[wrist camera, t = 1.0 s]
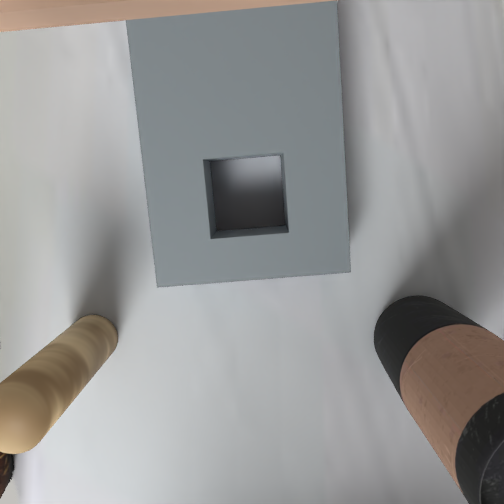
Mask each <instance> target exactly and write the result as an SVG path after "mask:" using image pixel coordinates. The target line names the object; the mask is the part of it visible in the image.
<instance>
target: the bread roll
mask: <svg viewBox="0 0 504 504" xmlns="http://www.w3.org/2000/svg"><path fill="white" fill-rule="evenodd" d="M12 457H13V456H12V454H8V453H3V452H0V498H1V496H2V494H3V493H4V491H5V488H6V487H7V485H8V483H9V482H10V479H11V480H12V471H13V470H14V465H13V464H14V463H13V458H12Z"/></svg>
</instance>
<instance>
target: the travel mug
mask: <svg viewBox="0 0 504 504" xmlns="http://www.w3.org/2000/svg"><path fill="white" fill-rule="evenodd" d="M374 345H375V349H376V352H377V355H378V357H379V359H380V361H381V363H382V365H383V366H384V368H385V370H386V372H387V374H388V375H389V377H390V379H391V381H392V383H393V384H394V386H395V388H396V390H397V392H398V393H399V395H400V397H401V399H402V401H403V402H404V404H405V406H406V408H407V409H408V411H409V412H410V414H411V415H412V417H413V418H414V420H415V421H416V423H417V424H418V426H419V427H420V429H421V431H422V432H423V434H424V435H425V437H426V438H427V440H428V441H429V443H430V444H431V446H432V447H433V449H434V450H435V452H436V453H437V455H438V456H439V458H440V460H441V461H442V463H443V464H444V466H445V467H446V469H447V470H448V472H449V473H450V475H451V476H452V478H453V479H454V481H455V482H456V484H457V485H458V487H459V488H460V490H461V492H462V493H463V495H464V496H465V498H466V499H467V501H468V502H469V504H504V341H503V340H502V339H501V338H499V337H498V336H496V335H495V334H493V333H492V332H490V331H489V330H487V329H485V328H484V327H482V326H480V325H479V324H477V323H475V322H474V321H472V320H470V319H469V318H467V317H465V316H464V315H462V314H461V313H459V312H457V311H456V310H454V309H452V308H451V307H449V306H447V305H446V304H444V303H442V302H440V301H438V300H436V299H433V298H430V297H426V296H411V297H406V298H403V299H400V300H398V301H396V302H395V303H393V304H391V305H390V306H389V307H388V308H387V309H386V310H385V311H384V312H383V313H382V315H381V316H380V318H379V320H378V321H377V324H376V327H375V331H374Z"/></svg>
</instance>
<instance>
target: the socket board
mask: <svg viewBox="0 0 504 504" xmlns="http://www.w3.org/2000/svg"><path fill="white" fill-rule="evenodd" d="M126 26H127V35H128V43H129V52H130V60H131V69H132V77H133V86H134V94H135V103H136V111H137V120H138V128H139V137H140V145H141V154H142V163H143V171H144V180H145V188H146V197H147V205H148V214H149V222H150V231H151V239H152V248H153V256H154V265H155V273H156V282H157V287H170V286H183V285H195V284H208V283H221V282H234V281H246V280H259V279H272V278H285V277H297V276H310V275H323V274H336V273H349V272H351V264H350V245H349V226H348V206H347V187H346V167H345V148H344V129H343V109H342V90H341V71H340V51H339V32H338V13H337V0H336V1H325V2H315V3H304V4H293V5H283V6H272V7H261V8H251V9H240V10H229V11H219V12H208V13H197V14H187V15H176V16H165V17H155V18H144V19H133V20H126ZM276 155H280V158H281V172H282V186H283V199H284V213H285V225H283V226H271V227H259V228H246V229H234V230H222V231H217V229H216V219H215V208H214V198H213V187H212V177H211V166H210V161H217V160H229V159H241V158H253V157H264V156H276Z"/></svg>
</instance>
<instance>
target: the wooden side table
mask: <svg viewBox="0 0 504 504" xmlns="http://www.w3.org/2000/svg"><path fill="white" fill-rule="evenodd" d="M325 1H336V0H0V32H5V31H16V30H27V29H37V28H48V27H59V26H69V25H80V24H91V23H101V22H112V21H123V20H133V19H144V18H155V17H165V16H176V15H187V14H197V13H208V12H219V11H229V10H240V9H251V8H261V7H272V6H283V5H293V4H304V3H315V2H325Z"/></svg>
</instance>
